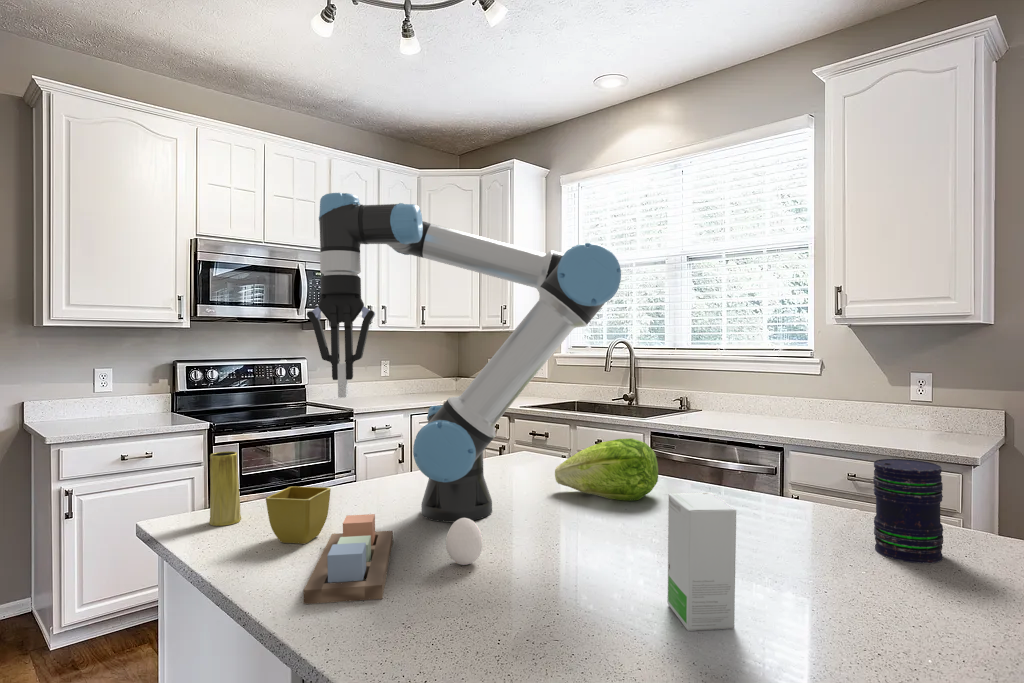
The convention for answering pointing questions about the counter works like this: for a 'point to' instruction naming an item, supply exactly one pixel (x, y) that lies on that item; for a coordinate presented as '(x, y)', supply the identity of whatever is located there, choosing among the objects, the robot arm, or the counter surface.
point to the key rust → (359, 526)
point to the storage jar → (908, 510)
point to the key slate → (346, 562)
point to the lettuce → (611, 470)
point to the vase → (224, 489)
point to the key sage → (359, 540)
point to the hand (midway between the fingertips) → (343, 396)
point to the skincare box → (701, 560)
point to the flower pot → (298, 513)
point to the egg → (464, 541)
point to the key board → (351, 591)
